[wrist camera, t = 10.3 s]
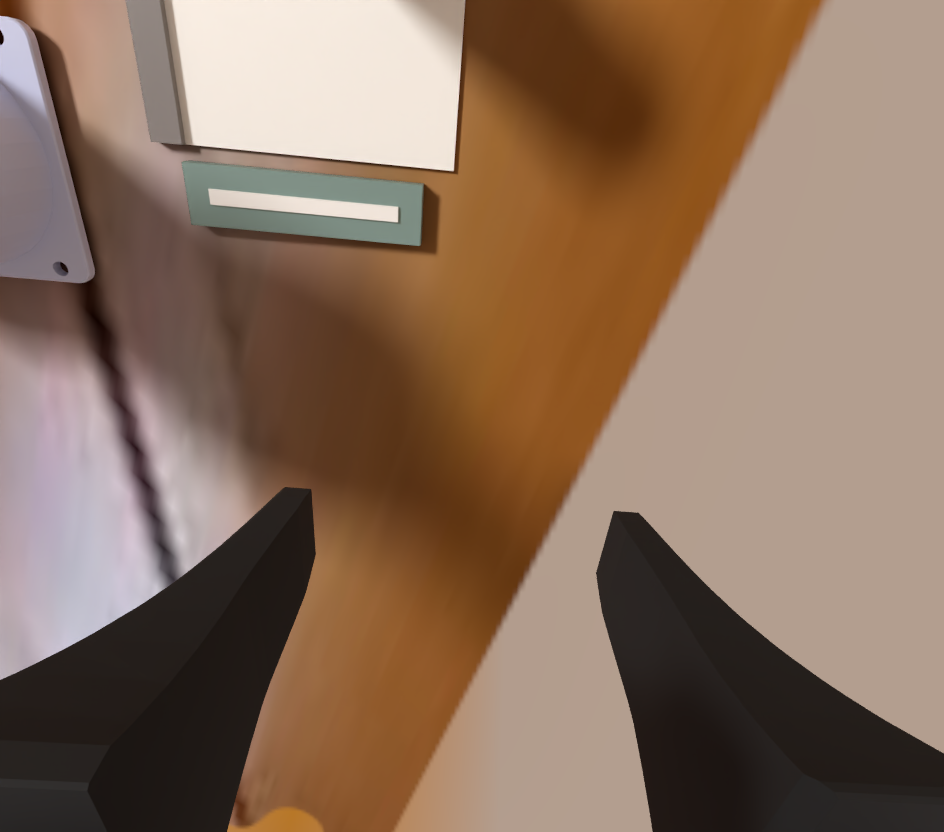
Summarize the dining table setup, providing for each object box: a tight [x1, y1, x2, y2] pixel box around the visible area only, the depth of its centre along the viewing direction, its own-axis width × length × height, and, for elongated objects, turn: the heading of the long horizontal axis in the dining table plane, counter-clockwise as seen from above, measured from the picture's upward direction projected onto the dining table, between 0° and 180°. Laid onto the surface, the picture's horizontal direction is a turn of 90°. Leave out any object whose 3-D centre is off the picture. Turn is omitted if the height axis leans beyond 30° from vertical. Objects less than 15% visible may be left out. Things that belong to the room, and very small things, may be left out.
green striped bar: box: [182, 161, 424, 246], centre depth 19 cm, size 8×2×1 cm, turn 85°
